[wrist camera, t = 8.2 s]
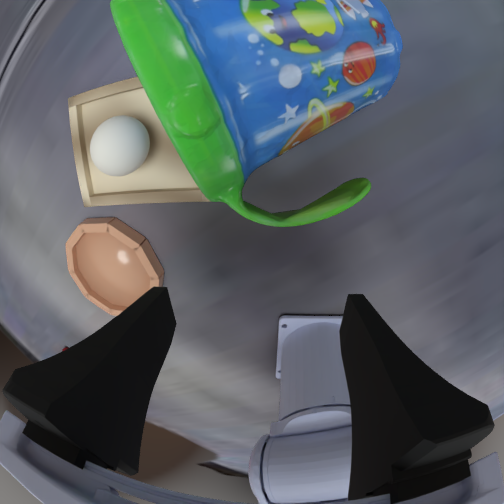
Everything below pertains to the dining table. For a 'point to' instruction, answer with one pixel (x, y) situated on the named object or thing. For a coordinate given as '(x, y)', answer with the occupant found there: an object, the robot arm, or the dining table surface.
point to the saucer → (112, 263)
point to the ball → (119, 145)
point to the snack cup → (258, 83)
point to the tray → (153, 168)
